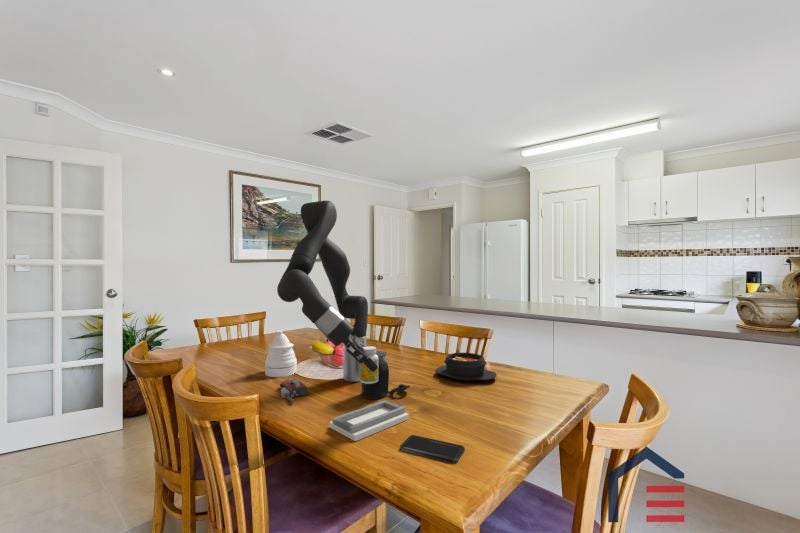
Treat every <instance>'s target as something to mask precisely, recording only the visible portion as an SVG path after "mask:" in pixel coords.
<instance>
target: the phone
mask: <svg viewBox="0 0 800 533" xmlns="http://www.w3.org/2000/svg"><path fill="white" fill-rule="evenodd" d="M399 446H400V447H399V450H400V451H401V452H404V451H405V452H404V453H408V452H409V454H412V453H413V454H414V455H418V456H421V457H424V458H429V457H430V458H429V459H433V458H434V459H433V460H437V459H438V461H441V460H442V461H441V462H445V461H446V462H445V463H449V462H450V464H456V463H458V462H459V461H458V460H460V459H461V458H462V456H463V455H464V453H465V452H464V451H466V447H465V446H464V445H461V444H456V443H452V442H448V441H443V440H438V439H433V438H430V437H426V436H421V435H417V434H411V435H409V436H408V437H407V438H406V439H405V440H404V441H403V442H402V443H401V444H400V445H399ZM462 454H463V455H462ZM460 457H461V458H460Z"/></svg>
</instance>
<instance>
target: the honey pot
mask: <svg viewBox="0 0 800 533" xmlns="http://www.w3.org/2000/svg"><path fill="white" fill-rule="evenodd" d="M275 334H276V336H275V337H274V339H273V341H272V343H271V344H269V346H268V348H269V351H268V353H267V356H266V359H265V361H264V362H265V363H264V365H265V366H264V368H265V369H264V372H265V373H264V374H265V376H267V377H270V378H281V377H283V378H285V377H288V376H289V375H290V376H292V374H293V375H295V374H296V373H297V372H298V362H297V360H298V359H297V357H296V354H295V351H294V349H293V347H294V343H292V342H291V341H290V340H289V339H288V337H287V336H286V335H285V334H284V332H283V330H276V333H275ZM296 371H297V372H296ZM295 372H296V373H295ZM294 373H295V374H294Z"/></svg>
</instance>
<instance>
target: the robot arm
mask: <svg viewBox="0 0 800 533" xmlns="http://www.w3.org/2000/svg"><path fill="white" fill-rule="evenodd" d="M300 218H301V221H302V223H303V226H304V228H305V230H306V232H307V235H305V236H304V237H303V238H302V239H301V240H299V242H298V243H297V244H296V246H295V247H294V249H293V253H292V255H291V257H290V259H289V261H288V265H287V267H286V269H285V271H284V273H283V275H282V276H281V278H280V280H279V283H278V285H277V287H276V288H277V289H276V290H277V291H276V292H277V295H278V297H279V298H280V300H282V301H283V302H287V303H293V302H295V301H297V300H299V299H300V301H301V303H302V306H301V311H302V313H303V314H304V316H306V318H307V319H309V321H311V323H313V324H314V326H315V327H316V328H317V330H318V331H320V333H322V335H324V336H325V337H326V338H327V339H328V340H329V341H330V342H331V343H332V344H333V345H334V347H338V346H340V345H341V344H342V346H343V347H342V351H343V353H342V354H343V355H342V356H343V359H342V361H343V364H342V365H343V367H342V368H343V370H342V371H343V378H344V379H343V380H344V381H346V382H360V363H361V364H362V363H364V364H365V365H366V366H367V367H368V368H369V369H370V370H371V371H372V372H374V371H375V370H376V369H377V368H378V365H377V364H376V363H375V362H374V361H372V360H371V359H370V358H369V356H368V355H367V354H366V353H365V349H364V348H363V347H367V330H368V317H369V316H368V314H369V304H368V300H367V298H366V297H365V296H364V295H349V293H348V292H347V291H348V290H347V288H346V287H347V283H348V280H349V278H350V274H351V266H350V263H349V261H348V257H347V255H346V252H344V250H342V248H341V247H340V246H338V245H337V244H336V243H335V242H333V241H332V240H331V239H330V238H329V237H328V236H329V235H330V233H331V232H332V230H333V228H334V226H335V225H336V222H337V218H338V214H337V208H336V206H335V203H334V202H332V201H331V200H318V201H317V200H316V201H311V202H305V203H304V204H302V205H301V208H300ZM317 256H318V257H319V259H320V261H321V264H322V268H323V270H324V271H325V274H326V276H327V279H328V281H329V284H330V286H331V290H332V293H333V295H334V299H335V303H336V306H337V309H336V308H335V307H333V306H332V305H331V304H330V303H329V302H328V301H327V300H326V299H325V298H324V297H323V296H322V295H321V293H320V291H319V289H318V288H317V286H316V285H315V283H314V282H313V280H312V278H310V276H309V275H310V274H311V272H312V270H313V268H314V265H315V263H316V260H317ZM348 319H349V320H350V319H352V320H354V323H353V324H352V323H351V322H350V321H348ZM361 355H362V356H363V357H362V358H360V356H361Z"/></svg>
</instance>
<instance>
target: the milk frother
mask: <svg viewBox="0 0 800 533" xmlns="http://www.w3.org/2000/svg"><path fill="white" fill-rule="evenodd" d="M375 354H376V355H377V356H378V359H379V360H378V382H376V383H372V384H366V383H362V382H361V393H360V396H361V398H364V399H369V400H375V399H376V400H377V399H382V398H385V397H387V396H388V394H391V393H392V394H393V393H396V392H397V393H398V392H400V393H402V392H405V391H406V390H407V389H410V387H411V385H410V384H408V385H406V384H404V383H401V384H398V387H394V388H392V389H390V391H389V384H390V383H389V382H390V380H389V378H390V368H389V364H388V362H387V351H383V350H376V353H375Z"/></svg>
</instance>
